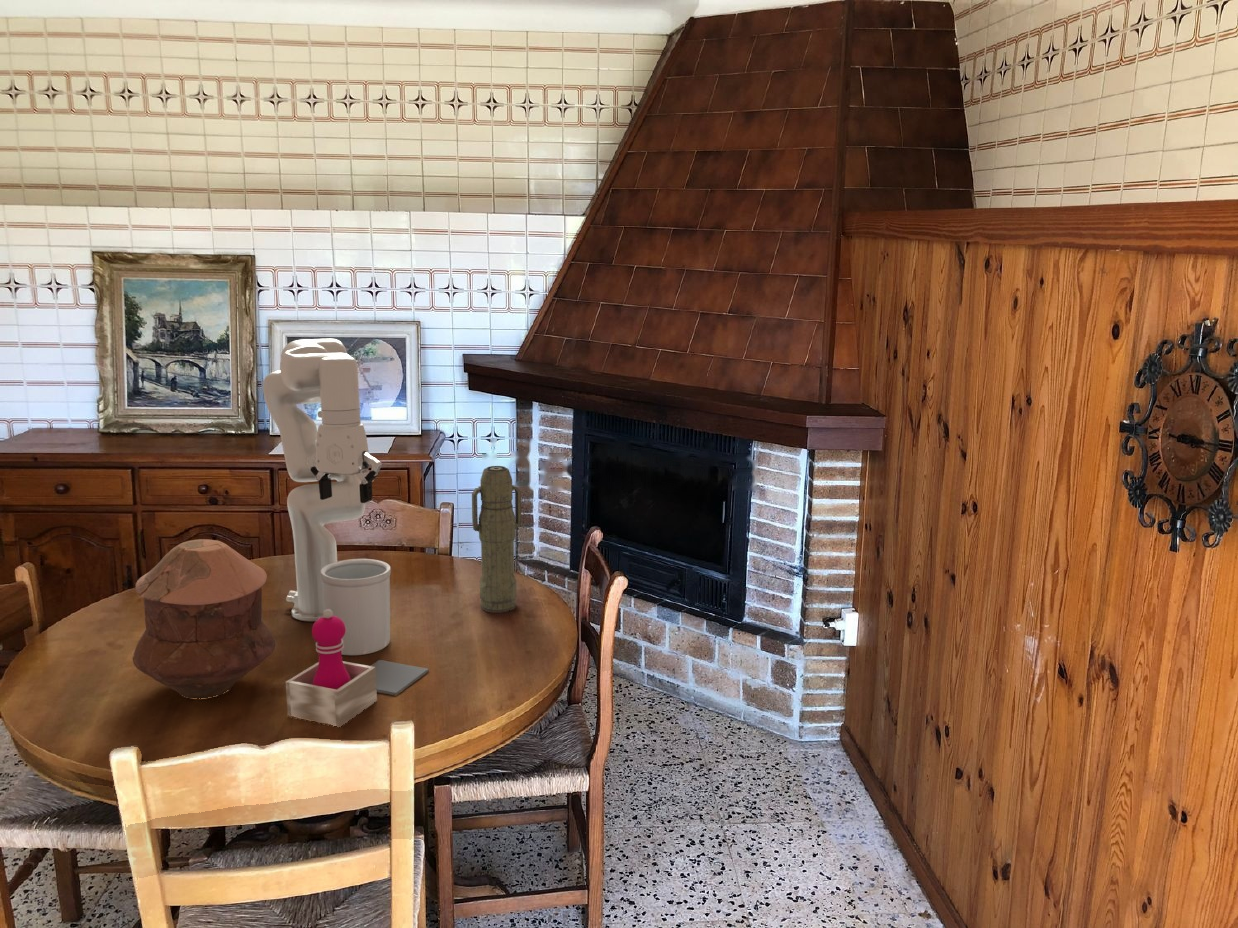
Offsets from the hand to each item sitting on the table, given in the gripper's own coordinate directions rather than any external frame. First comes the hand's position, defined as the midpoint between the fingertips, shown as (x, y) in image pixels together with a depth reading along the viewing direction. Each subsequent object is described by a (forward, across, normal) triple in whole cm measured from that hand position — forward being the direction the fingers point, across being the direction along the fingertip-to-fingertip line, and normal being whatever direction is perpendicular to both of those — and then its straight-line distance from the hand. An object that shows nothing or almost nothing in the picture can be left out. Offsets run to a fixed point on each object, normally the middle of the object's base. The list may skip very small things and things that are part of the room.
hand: (346, 500), depth 195 cm
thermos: (+35, +14, +40) cm, 55 cm away
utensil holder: (+35, -5, +8) cm, 36 cm away
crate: (+36, +9, -20) cm, 42 cm away
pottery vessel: (+35, -19, -22) cm, 46 cm away
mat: (+35, +11, -5) cm, 37 cm away
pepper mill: (+36, +9, -20) cm, 42 cm away
